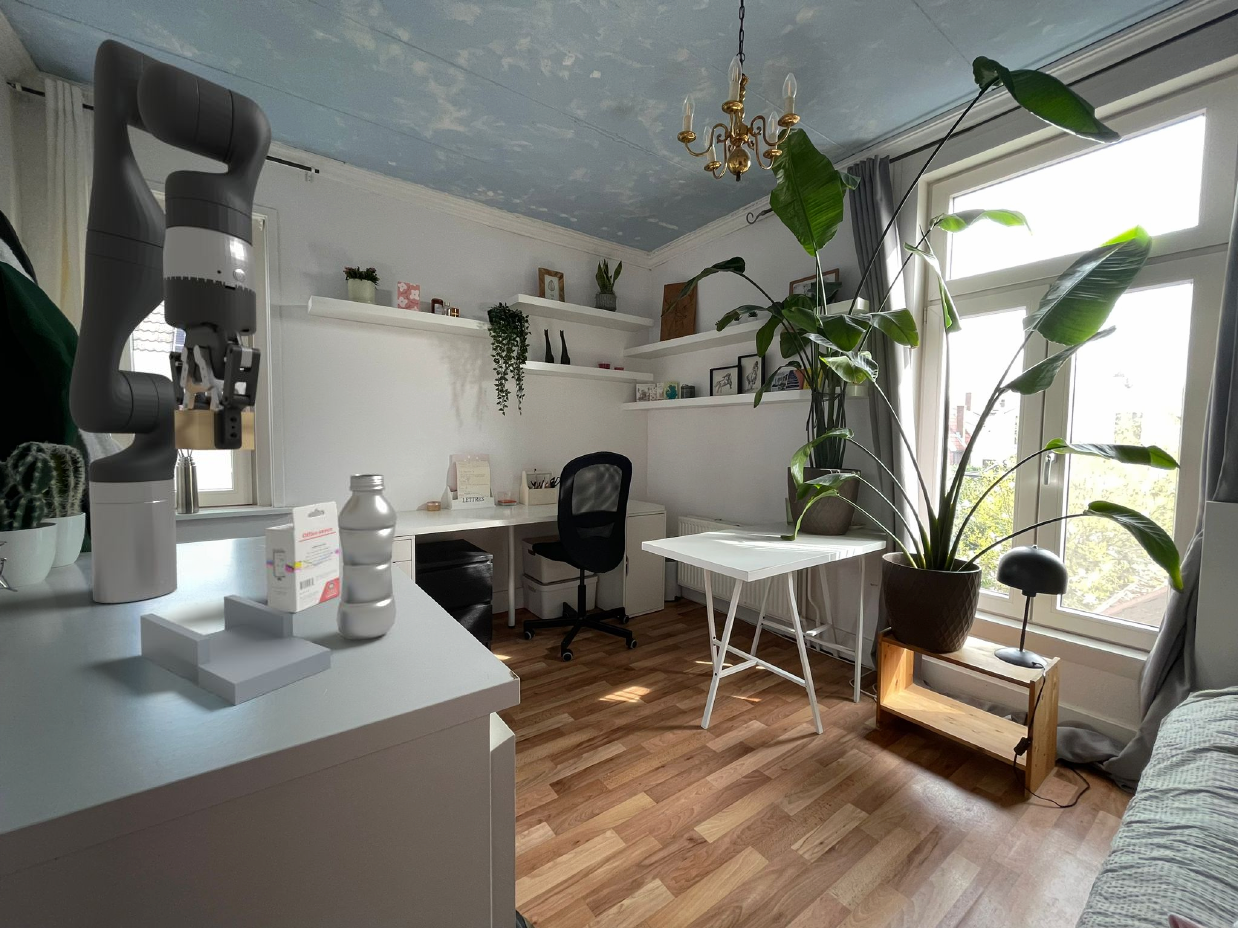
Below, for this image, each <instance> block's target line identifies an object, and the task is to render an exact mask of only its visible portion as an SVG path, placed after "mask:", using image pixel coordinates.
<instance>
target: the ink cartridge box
mask: <svg viewBox="0 0 1238 928" xmlns="http://www.w3.org/2000/svg"><path fill="white" fill-rule="evenodd" d="M337 510H338V507H337V502H336V501H335V500H332V501H328V502H319V503H314V504H310V505H309V504H307V505H304V506H299V507H293V508H292V509H291V516H292V523H287V524H283V525H277V526H272V527H267V528H264V530H265V559H266V561H265V562H266V565H265V566H266V588H267V592H266V593H267V606H270V607H273V608H276V609H279V610H282V611H285V612H288V613H291V614H293V613H294V614H295V613H296V614H297V613H300V612H302V611H304V610H307V609H310V608H311V607H314V606H316V605H319V604H321V603H323V602H326V601H328V600H330V599H333V598H335V597H338V596H339V595H341V591H340V536H339V528H338V511H337ZM314 511H317V512H322V514H321V515H317V516H312V517H309V514H313V513H314Z"/></svg>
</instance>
